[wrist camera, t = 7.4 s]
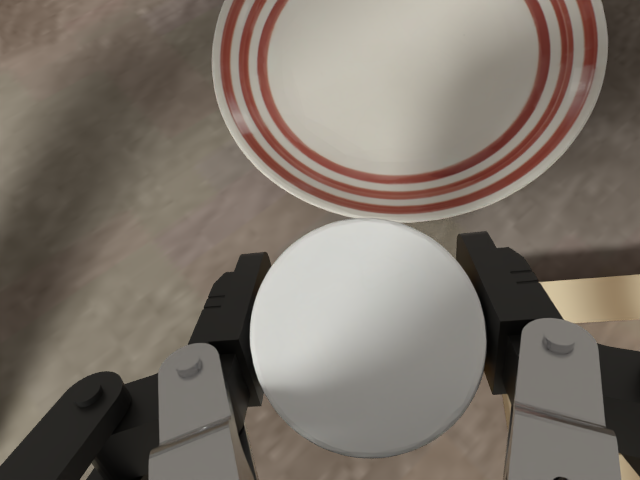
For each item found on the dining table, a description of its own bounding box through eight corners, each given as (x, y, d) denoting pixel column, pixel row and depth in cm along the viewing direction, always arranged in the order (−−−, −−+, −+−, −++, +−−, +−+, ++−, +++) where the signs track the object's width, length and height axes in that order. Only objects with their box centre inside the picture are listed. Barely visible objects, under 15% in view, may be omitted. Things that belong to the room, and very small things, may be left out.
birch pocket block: (517, 493, 25) (530, 508, 22) (485, 289, 27) (494, 285, 25) (746, 490, 23) (783, 505, 21) (687, 274, 26) (714, 268, 24)
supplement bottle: (396, 242, 17) (418, 124, 8) (471, 364, 16) (612, 404, 6) (280, 307, 17) (161, 268, 8) (344, 435, 16) (295, 579, 6)
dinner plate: (535, -118, 34) (551, -165, 31) (641, 196, 28) (675, 178, 24) (215, -38, 37) (200, -73, 34) (241, 261, 31) (224, 252, 28)
